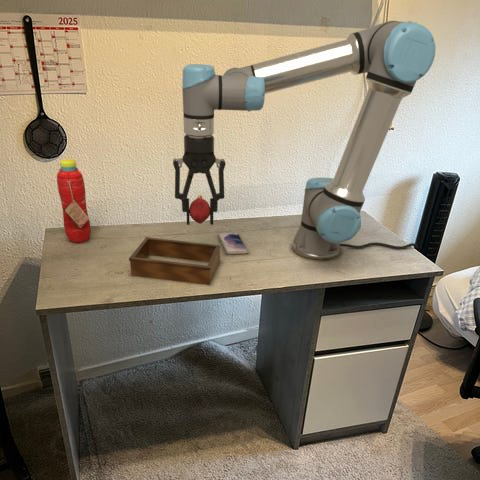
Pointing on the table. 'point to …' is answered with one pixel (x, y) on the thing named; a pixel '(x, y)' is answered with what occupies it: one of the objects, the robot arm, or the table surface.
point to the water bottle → (73, 201)
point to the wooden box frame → (175, 269)
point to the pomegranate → (199, 210)
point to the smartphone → (232, 243)
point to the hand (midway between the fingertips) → (199, 222)
